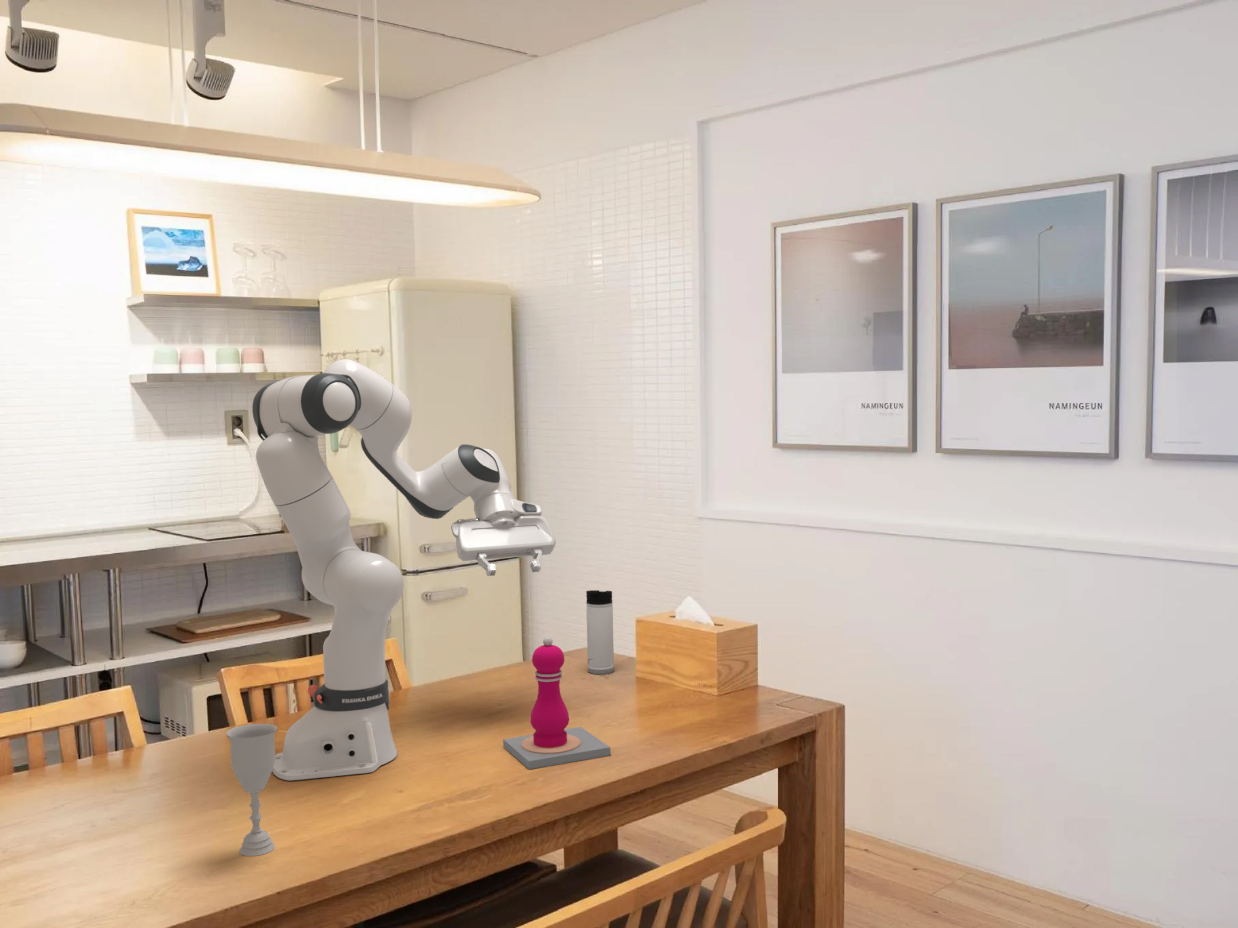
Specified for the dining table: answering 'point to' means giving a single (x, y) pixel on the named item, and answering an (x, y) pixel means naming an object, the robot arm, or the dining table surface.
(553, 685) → the pepper mill
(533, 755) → the mount board
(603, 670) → the travel mug
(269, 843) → the chalice
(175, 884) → the dining table surface
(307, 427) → the robot arm
